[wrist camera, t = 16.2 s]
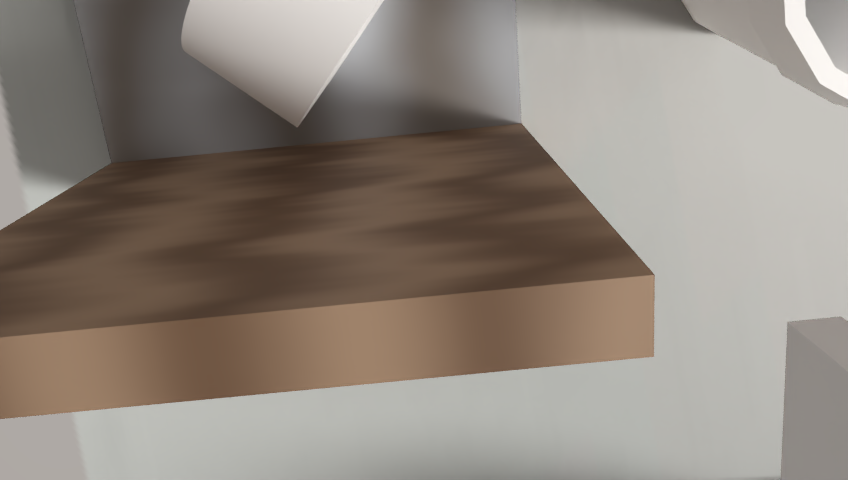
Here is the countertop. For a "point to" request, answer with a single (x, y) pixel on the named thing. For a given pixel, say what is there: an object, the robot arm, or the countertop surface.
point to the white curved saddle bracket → (276, 45)
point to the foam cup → (787, 37)
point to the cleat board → (309, 227)
